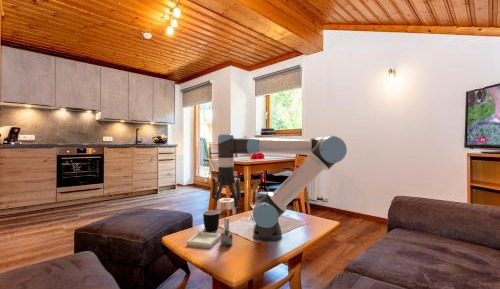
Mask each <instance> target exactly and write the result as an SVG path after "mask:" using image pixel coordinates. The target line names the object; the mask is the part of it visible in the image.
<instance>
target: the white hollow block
mask: <svg viewBox="0 0 500 289" xmlns="http://www.w3.org/2000/svg"><path fill="white" fill-rule="evenodd" d="M219 199H220V200H218V201H217V206H216V209H217V210H218V209H221V211H225V210H233V203H232V201H233V200H234V199H233V197H232V198H231V197H222V198H219Z"/></svg>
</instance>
